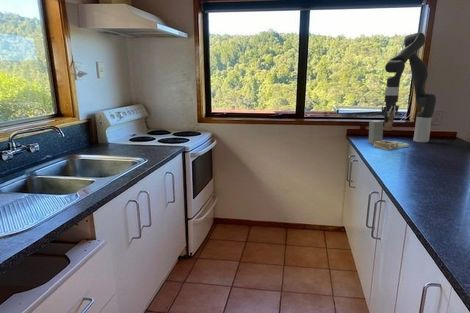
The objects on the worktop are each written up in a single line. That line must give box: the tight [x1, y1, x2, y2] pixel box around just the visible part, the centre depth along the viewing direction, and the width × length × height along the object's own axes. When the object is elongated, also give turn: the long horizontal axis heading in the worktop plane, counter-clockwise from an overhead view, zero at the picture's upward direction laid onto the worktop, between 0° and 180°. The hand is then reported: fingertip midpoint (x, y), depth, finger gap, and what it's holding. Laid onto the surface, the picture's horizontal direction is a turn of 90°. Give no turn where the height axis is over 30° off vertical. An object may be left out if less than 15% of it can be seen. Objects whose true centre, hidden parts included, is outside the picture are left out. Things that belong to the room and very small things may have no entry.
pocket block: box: [373, 139, 399, 151], centre depth 207 cm, size 10×10×4 cm
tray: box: [393, 140, 410, 149], centre depth 212 cm, size 10×10×2 cm
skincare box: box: [368, 119, 384, 145], centre depth 219 cm, size 8×7×16 cm
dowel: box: [383, 111, 394, 131], centre depth 203 cm, size 4×4×12 cm
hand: (388, 122), depth 203 cm, fingers closed on dowel, 4 cm apart
